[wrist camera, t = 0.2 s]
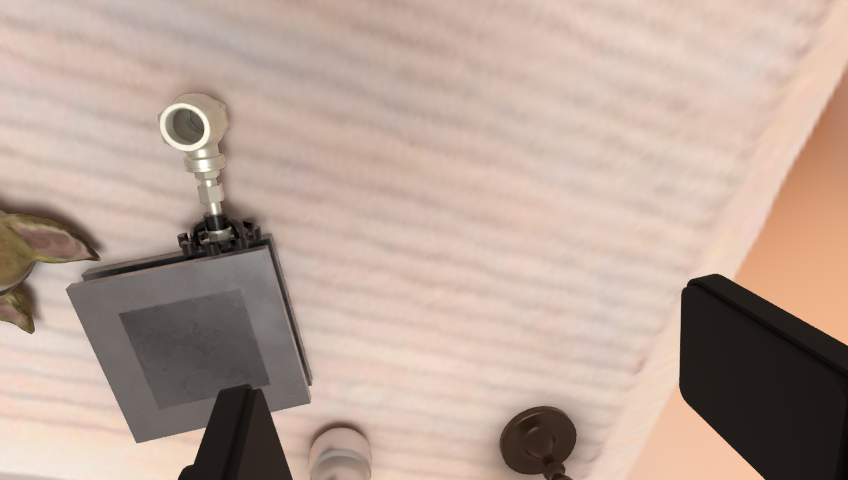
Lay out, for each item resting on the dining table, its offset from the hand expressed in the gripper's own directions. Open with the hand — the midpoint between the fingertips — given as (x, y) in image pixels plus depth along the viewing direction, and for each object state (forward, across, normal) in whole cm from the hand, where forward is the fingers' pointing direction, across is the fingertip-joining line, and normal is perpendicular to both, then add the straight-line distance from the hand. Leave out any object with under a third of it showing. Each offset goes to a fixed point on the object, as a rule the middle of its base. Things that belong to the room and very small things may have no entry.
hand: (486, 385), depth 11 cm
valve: (+36, +13, 0) cm, 39 cm away
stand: (+36, +19, +14) cm, 43 cm away
